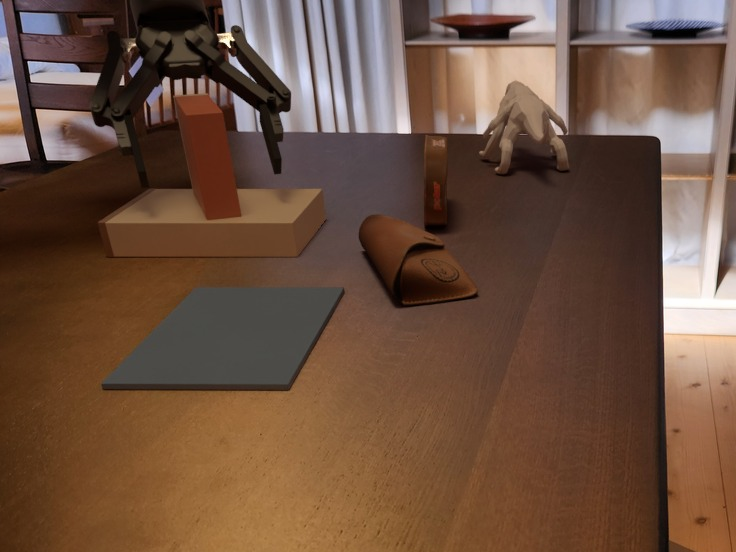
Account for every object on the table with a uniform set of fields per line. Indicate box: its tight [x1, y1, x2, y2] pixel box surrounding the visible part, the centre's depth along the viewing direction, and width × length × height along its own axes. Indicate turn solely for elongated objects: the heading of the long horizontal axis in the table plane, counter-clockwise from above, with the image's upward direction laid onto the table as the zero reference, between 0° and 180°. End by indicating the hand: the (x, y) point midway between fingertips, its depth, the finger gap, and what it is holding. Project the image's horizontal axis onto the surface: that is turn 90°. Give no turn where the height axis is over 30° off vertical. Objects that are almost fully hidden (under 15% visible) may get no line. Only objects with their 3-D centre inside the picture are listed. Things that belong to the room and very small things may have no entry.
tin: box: [423, 134, 449, 227], centre depth 101 cm, size 15×3×8 cm, turn 4°
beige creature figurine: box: [478, 79, 570, 175], centre depth 121 cm, size 12×25×10 cm, turn 11°
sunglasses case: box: [358, 214, 479, 306], centre depth 86 cm, size 18×7×7 cm
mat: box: [100, 286, 345, 391], centre depth 74 cm, size 14×21×1 cm, turn 178°
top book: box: [172, 92, 241, 220], centre depth 93 cm, size 4×12×10 cm, turn 23°
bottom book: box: [97, 187, 327, 258], centre depth 97 cm, size 20×14×4 cm
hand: (212, 173), depth 92 cm, fingers open, 13 cm apart
